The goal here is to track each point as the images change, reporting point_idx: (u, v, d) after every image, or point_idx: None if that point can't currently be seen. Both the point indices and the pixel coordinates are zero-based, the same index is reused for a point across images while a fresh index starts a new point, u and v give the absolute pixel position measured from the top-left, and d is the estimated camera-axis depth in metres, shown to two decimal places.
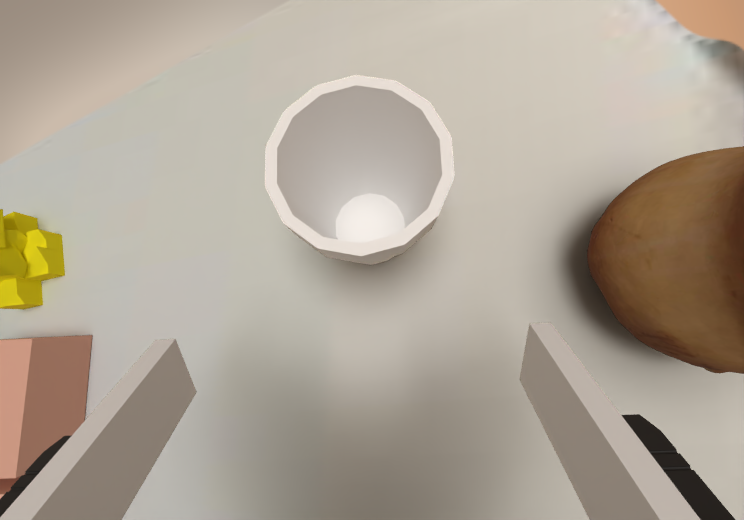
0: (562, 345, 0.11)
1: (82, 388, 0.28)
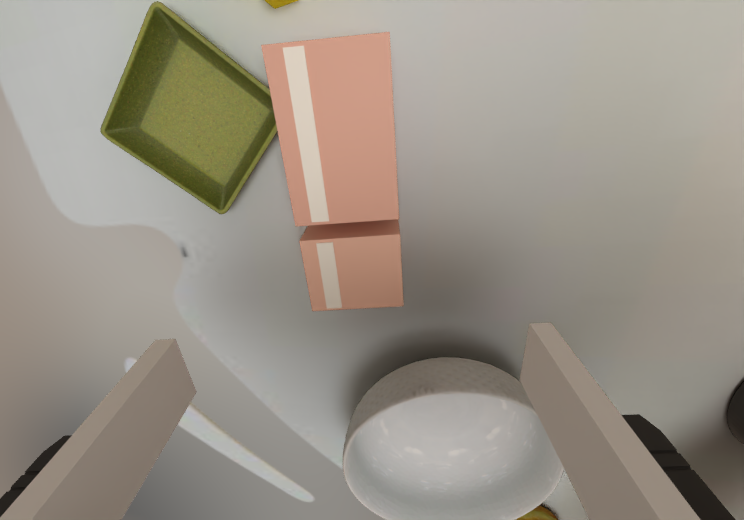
0: (562, 345, 0.11)
1: None
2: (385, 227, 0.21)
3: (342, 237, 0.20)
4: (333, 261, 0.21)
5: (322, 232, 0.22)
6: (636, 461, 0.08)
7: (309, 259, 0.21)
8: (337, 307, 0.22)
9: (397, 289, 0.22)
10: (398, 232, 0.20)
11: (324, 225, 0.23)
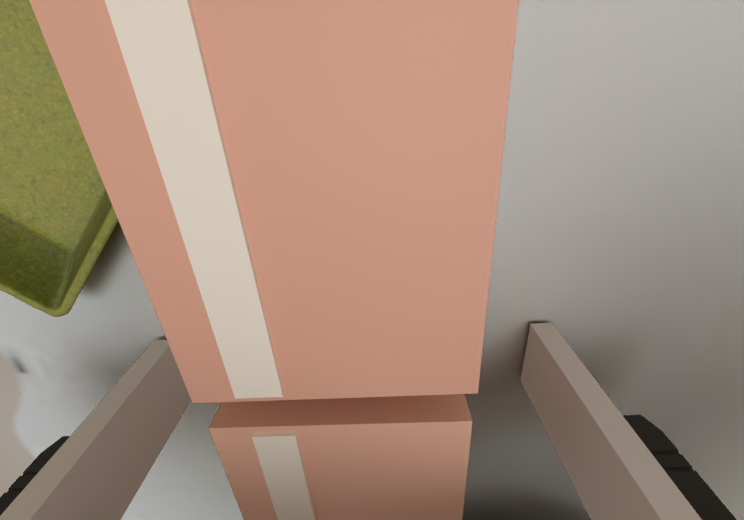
0: (563, 345, 0.11)
1: None
2: None
3: (320, 421, 0.08)
4: (298, 467, 0.08)
5: None
6: (638, 462, 0.08)
7: (238, 462, 0.08)
8: None
9: (450, 515, 0.09)
10: (466, 409, 0.08)
11: None
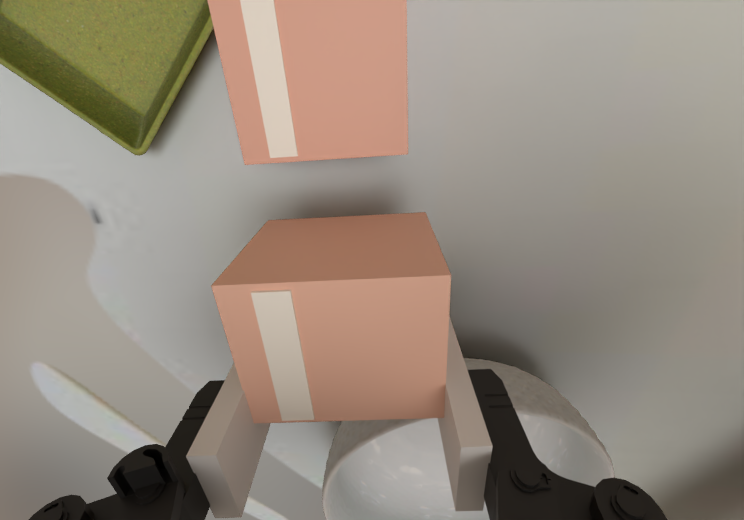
0: None
1: None
2: (412, 254, 0.10)
3: (313, 279, 0.09)
4: (293, 331, 0.09)
5: (271, 261, 0.10)
6: (461, 398, 0.09)
7: (238, 325, 0.09)
8: (304, 418, 0.11)
9: (433, 387, 0.10)
10: (445, 269, 0.09)
11: (281, 244, 0.11)
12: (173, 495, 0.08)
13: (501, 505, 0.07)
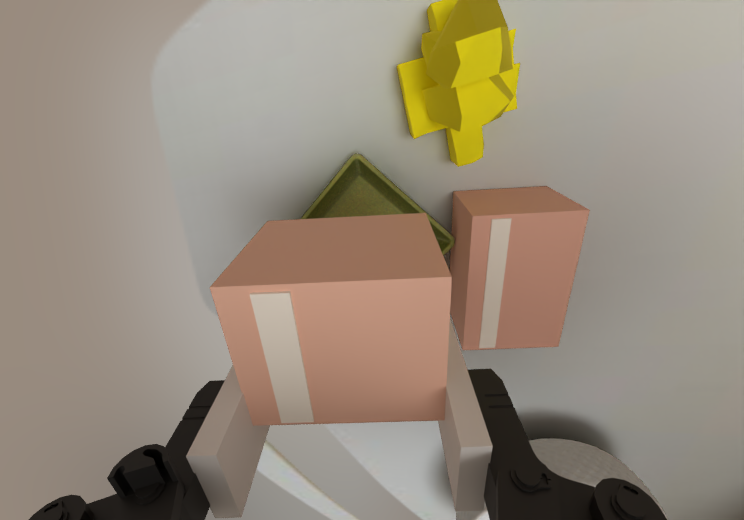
0: None
1: None
2: (413, 256, 0.09)
3: (312, 281, 0.09)
4: (292, 332, 0.09)
5: (270, 262, 0.10)
6: (460, 398, 0.09)
7: (237, 327, 0.09)
8: (304, 421, 0.10)
9: (434, 389, 0.10)
10: (446, 271, 0.09)
11: (280, 245, 0.11)
12: (173, 495, 0.08)
13: (501, 505, 0.07)
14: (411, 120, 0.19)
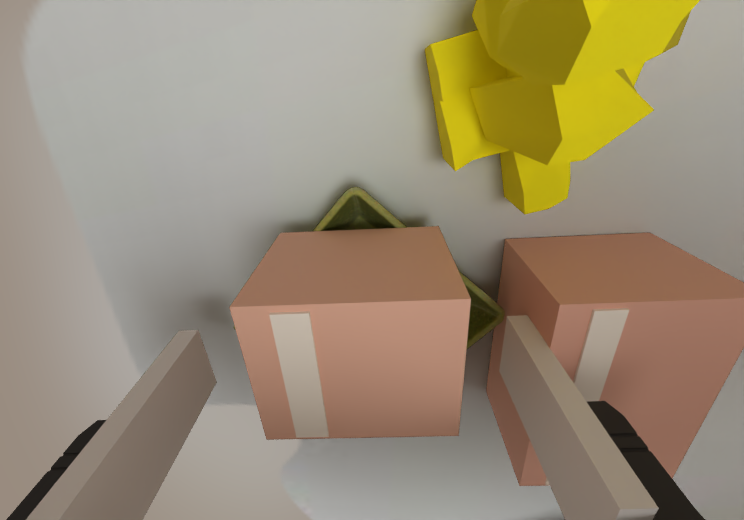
0: (535, 336, 0.12)
1: None
2: (429, 275, 0.10)
3: (331, 302, 0.09)
4: (310, 351, 0.09)
5: (287, 280, 0.10)
6: (595, 442, 0.08)
7: (255, 345, 0.09)
8: (319, 435, 0.11)
9: (449, 406, 0.10)
10: (464, 292, 0.09)
11: (295, 260, 0.11)
12: None
13: None
14: (451, 140, 0.11)
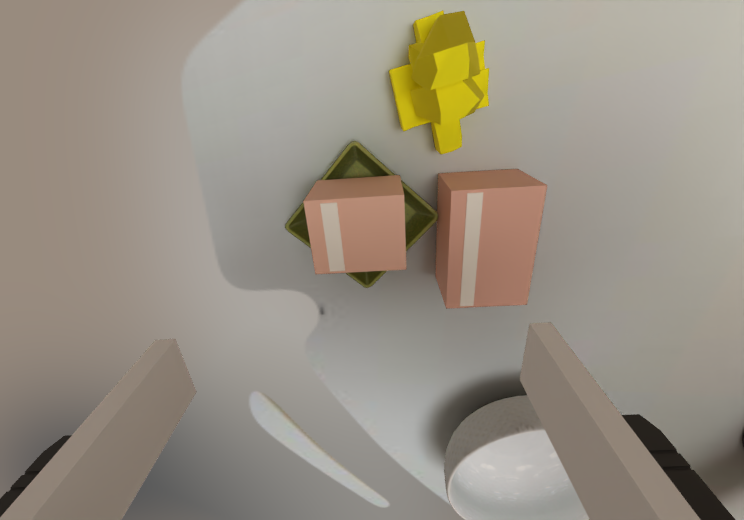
0: (562, 345, 0.11)
1: None
2: (389, 189, 0.21)
3: (346, 198, 0.20)
4: (337, 222, 0.21)
5: (325, 193, 0.21)
6: (636, 461, 0.08)
7: (313, 220, 0.21)
8: (340, 270, 0.22)
9: (400, 251, 0.22)
10: (402, 193, 0.20)
11: (327, 188, 0.23)
12: None
13: None
14: (401, 116, 0.22)
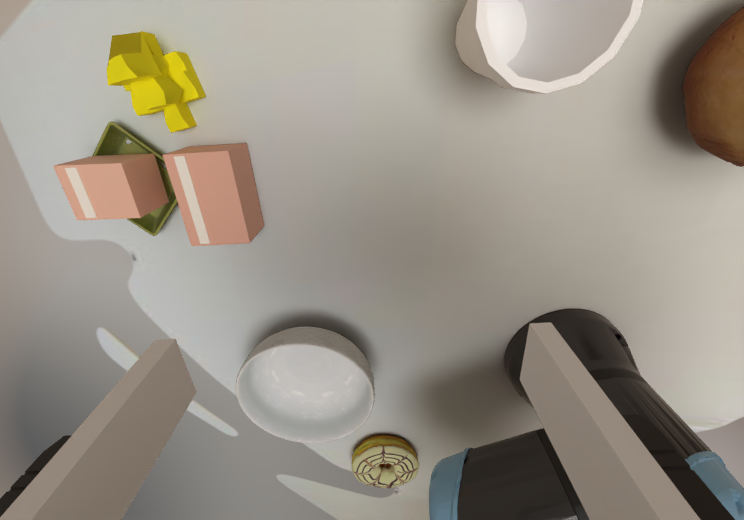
0: (561, 345, 0.11)
1: (254, 185, 0.37)
2: (121, 160, 0.31)
3: (83, 164, 0.30)
4: (81, 182, 0.30)
5: (77, 162, 0.31)
6: (636, 461, 0.08)
7: (63, 179, 0.30)
8: (93, 217, 0.32)
9: (132, 204, 0.31)
10: (122, 162, 0.30)
11: (87, 159, 0.32)
12: None
13: None
14: (133, 104, 0.32)
